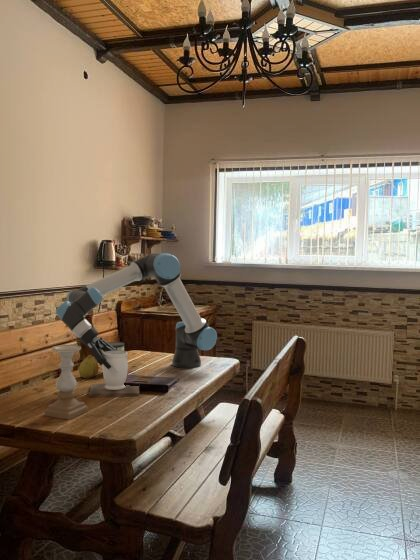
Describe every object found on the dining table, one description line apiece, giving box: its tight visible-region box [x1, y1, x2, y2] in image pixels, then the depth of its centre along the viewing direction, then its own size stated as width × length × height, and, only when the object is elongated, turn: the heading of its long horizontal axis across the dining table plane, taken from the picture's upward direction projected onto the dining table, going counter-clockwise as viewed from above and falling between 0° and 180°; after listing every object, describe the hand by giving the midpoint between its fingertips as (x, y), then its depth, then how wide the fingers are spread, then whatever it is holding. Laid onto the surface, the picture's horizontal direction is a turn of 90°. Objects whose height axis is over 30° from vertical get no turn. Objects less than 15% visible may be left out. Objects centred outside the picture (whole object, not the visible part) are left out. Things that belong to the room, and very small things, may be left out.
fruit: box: [78, 353, 100, 379], centre depth 229 cm, size 9×9×12 cm
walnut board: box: [88, 383, 140, 398], centre depth 207 cm, size 20×16×1 cm
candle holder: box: [44, 344, 89, 421], centre depth 176 cm, size 11×11×24 cm
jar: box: [101, 350, 129, 390], centre depth 207 cm, size 11×10×15 cm
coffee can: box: [102, 341, 125, 352], centre depth 239 cm, size 10×10×14 cm
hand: (121, 370), depth 206 cm, fingers open, 12 cm apart
